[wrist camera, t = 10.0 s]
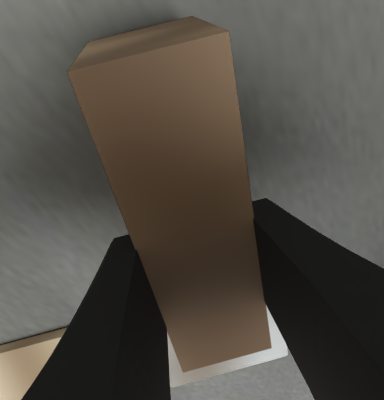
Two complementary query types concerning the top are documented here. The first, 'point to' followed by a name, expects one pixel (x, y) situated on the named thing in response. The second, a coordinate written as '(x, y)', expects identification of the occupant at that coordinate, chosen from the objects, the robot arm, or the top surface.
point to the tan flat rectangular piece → (24, 362)
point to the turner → (182, 187)
